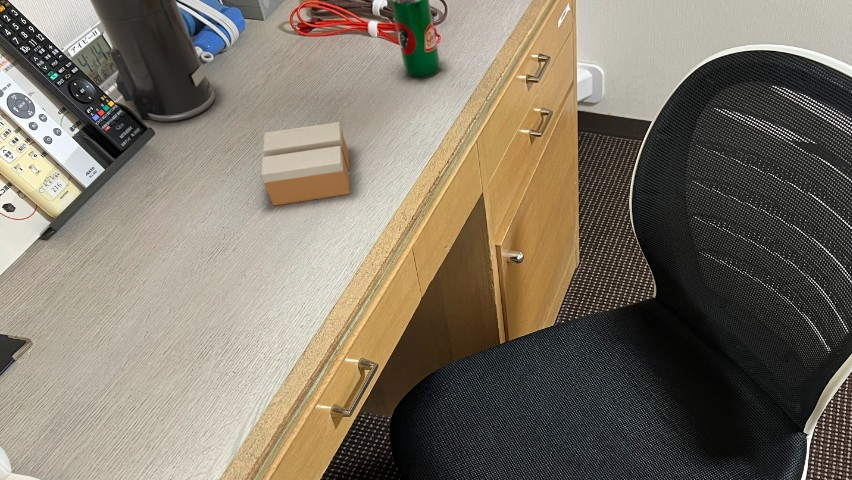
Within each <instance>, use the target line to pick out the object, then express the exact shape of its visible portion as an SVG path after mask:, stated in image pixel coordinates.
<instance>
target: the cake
mask: <svg viewBox="0 0 852 480" xmlns="http://www.w3.org/2000/svg"><path fill="white" fill-rule="evenodd" d="M263 135H264V137H263V147H262V151H263V154H264V157H267V156H274V155H281V154H288V153H295V152H301V151H308V150H315V149H322V148H329V147H335V146H340V147H341V150H342V154H343V157H344V160H345V164H346V167H347V170H348V171H350V161H349V150H348V147H347V143H346V140H345V139H346V138H345V137H344V133H343V130H342V127H341V123H340V121H337V122H330V123H322V124H316V125H307V126H302V127H295V128H288V129H281V130H274V131H266V132H264V134H263Z"/></svg>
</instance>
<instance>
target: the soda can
mask: <svg viewBox="0 0 852 480" xmlns="http://www.w3.org/2000/svg"><path fill="white" fill-rule="evenodd" d="M389 1H390V6H391V11H392V15H393V16H392V17H393V20H394V24H395V30H396V34H397V39H398V43H399V49H400V53H401V58H402V62H403V66H404V71H405V72H406V73H407V75H409V76H411V77H414V78H418V79H421V78H429V77H432V76H434V75H435V74H437V73H438V72H439V70H440V68H441V62H440V61H441V60H440V55H439V50H438V44H437V39H436V38H437V37H436V34H435V33H436V32H435V28H434V22H433V15H432V11H431V6H430V5H431V4H430V0H389Z"/></svg>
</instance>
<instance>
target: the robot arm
mask: <svg viewBox="0 0 852 480" xmlns="http://www.w3.org/2000/svg"><path fill="white" fill-rule="evenodd" d="M89 1H90V3H91V5H92V7H93V10H94V11H95V13H96V15H97V18H98V19H99V21H100V23H101V25H102V27H103V30H104V32H105V33H106V36H107V38H108V40H109V42H110V44H111V51H110V52H109V53H110V57H111V59H112V62H113V63H114V65H115V68H116V69H117V76H116V78H115V82H114V83H115V84H116V89H117V91H118V93H119V94H121V96H122V98H123V100H124V102H125V103H127V102H133V104H134V106H135V109H136V111H137V112H138V114H139V116H140V118H141V120H153V121H157V122H176V121H182V120H185V119H189V118H192V117H195V116H197V115H199V114H201V113H203V112H204V111H206V110H207V109H208V108H210V107H211V105H212V104H213V103H214V102H215V100H216V94H215V91H214V89H213V87H212V86H211V83H210V80H209V78H208V76H207V75H208V72H207V70H206V68H205V65H204V63H202V62H201V59H200V56H199V54H198V52H197V49H196V47H195V44H194V42H193V40H192V38H191V37H192V36H191V34H190V32H189V30H188V28H187V25H186V22H185V20H184V18H183V15H182V12H181V10H180V8H179V5H178V3H177V1H176V0H89Z"/></svg>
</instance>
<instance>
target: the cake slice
mask: <svg viewBox="0 0 852 480" xmlns="http://www.w3.org/2000/svg"><path fill="white" fill-rule="evenodd" d="M260 172H261V173H260V175H261V178H262V180H263V184H264V185H265V188H266V190H267V191H266V192H267V193H268V195H269V199H270V200H271V203H272V206H274V207H275V206H280V205H284V204H285V205H286V204H292V203H301V202H305V201H306V202H307V201H312V200H320V199H326V198H331V197H337V196H345V195H350V194H351V183H350V174H349V170H347V167H346V164H345V160H344V157H343V154H342V150H341V147H340V146H335V147H329V148H322V149H315V150H308V151H301V152H295V153H288V154H281V155H274V156H267V157H265V156H262V160H261V171H260Z"/></svg>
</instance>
